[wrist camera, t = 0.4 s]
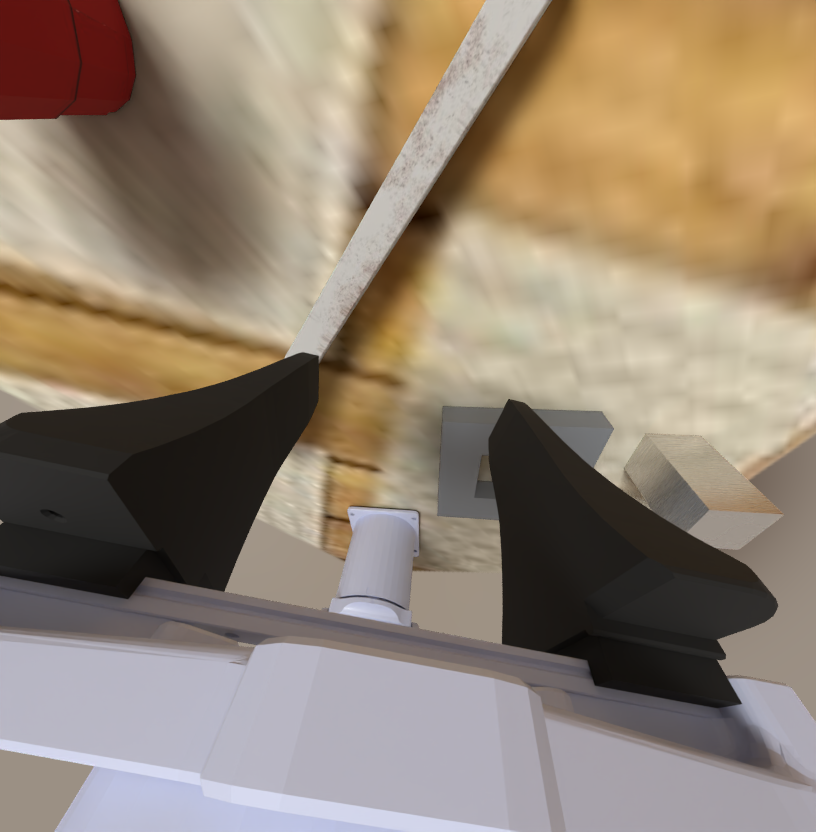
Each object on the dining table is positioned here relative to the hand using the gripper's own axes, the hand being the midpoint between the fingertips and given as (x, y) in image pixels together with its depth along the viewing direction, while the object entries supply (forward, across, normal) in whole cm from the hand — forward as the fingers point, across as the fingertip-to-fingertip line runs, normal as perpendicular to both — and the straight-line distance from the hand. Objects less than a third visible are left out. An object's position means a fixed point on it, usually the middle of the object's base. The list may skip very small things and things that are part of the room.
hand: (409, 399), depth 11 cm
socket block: (+10, -10, +11) cm, 18 cm away
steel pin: (+10, -22, +7) cm, 25 cm away
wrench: (+10, +5, -1) cm, 11 cm away
